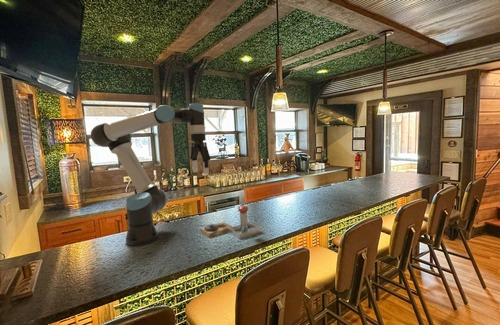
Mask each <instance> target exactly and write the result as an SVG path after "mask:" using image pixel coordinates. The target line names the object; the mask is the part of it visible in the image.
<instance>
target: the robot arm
mask: <svg viewBox="0 0 500 325" xmlns="http://www.w3.org/2000/svg"><path fill="white" fill-rule="evenodd" d="M204 110H205V109H204V105H203V104H202V103H199V102H196V103H189V105H188V107H187V108H177V107H174V106H170V105H168V104H162V105H159V106H157V108H155V109H153V110H150V111H149V110H148V111H146V112H143V113H140V114H137V115H133V116H130V117H127V118H124V119H121V120H118V121H115V122H109V121H108V122H104V123H101V124H98V125H96V126H94V127H93V128H92V129H91V130H90V138H91V141H92V142H93V143H94V144H95V145H96V146H98V147H101V148H109V149H108V150H110V153H111V154H115V155H116V157H117V158H118V160H119V162H120V163H121V165H122V167H123V169H124V171H125V173H127V176H128V177H129V179H130V181H131V183H132V184H133V185H134V186H133V187H134V188H135V189H136V191H137V193H135V194H131V195H130V196H128V197H127V198H126V200H125V202H126V203H125V207H126V214H127V216H126V217H127V224H128V226H127V227H128V228H127V229H128V230H127V232H126V235H125V243H126V245H127V246H131V247H139V246H144V245H147V244H151V243H153V242H156V241H157V239H159V233H158V231H157V228H156V226H155V224H154V217H153V215H154V214H156V213H157V212H160V211H162V210H163V209H164V208H165V207H166V205H167V203H168V196H167V193H166V192H165V191H164V190H163V189H161V188H160V189H159V187H158V185H157V184H155V183H153V182H152V180H151V179H150V177H149V175H148V174H147V171H146V170H145V168H144V167H143V165H142V163H141V162H140V160H139V159H138V157H137V154H136V153H135V151H134V150H133V148H132V145H133V142H132V134H134V133H138V132H141V131H144V130H147V129H150V128H153V127H157V126H160V125H164V124H166V123H168V124H173V125H174V124H176V125H177V124H185V123H186V124H187V123H188V124H189V129H190V140H191V148H190V149H191V150H190V157H189V159H190V160H191V162H192V173H198V172H199V169H198V168H199V167H198V155H199V153H200V156H201V158H202V169H203V170H202V172H203V175H209V174H210V172H209V171H210V169H209V168H210V166H209V161H211V157H210V153H209V149H208V144H207V142H204V141H206V124H205V112H204Z"/></svg>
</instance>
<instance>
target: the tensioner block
mask: <svg viewBox="0 0 500 325" xmlns="http://www.w3.org/2000/svg"><path fill="white" fill-rule="evenodd" d="M230 227H233V226H232V225H230V224H228V223H226V222H219V223H214V224H213V223H210V224H206V225H205V226H203V227H201V228H199V231H200V233H201V234H202V235H204V236H206V237H207V238H212V237H215V236H218V235H222V234H225V233H228V228H230Z"/></svg>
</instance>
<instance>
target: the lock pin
mask: <svg viewBox="0 0 500 325" xmlns="http://www.w3.org/2000/svg"><path fill="white" fill-rule="evenodd" d="M248 211H249V206H246V205H242V206H238V212H239V219H240V220H239V221H240V225H241V229H240V233H243V232H247V231H249V227H248Z"/></svg>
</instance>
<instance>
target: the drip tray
mask: <svg viewBox="0 0 500 325" xmlns="http://www.w3.org/2000/svg"><path fill="white" fill-rule="evenodd" d="M247 223H248V229H250V230H248V231H247V232H243V233H241V232H237V231H241V224H238V225H234V226H232V227H230V228H228V232H227V233H228V234H229V235H231V236H234V237H235V238H236V239H239V240H241V239H244V238H247V237H250V236H253V235H257V234H259V233H262V227H261V226H258V225H256V224H253V223H251V222H248V221H247Z"/></svg>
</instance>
